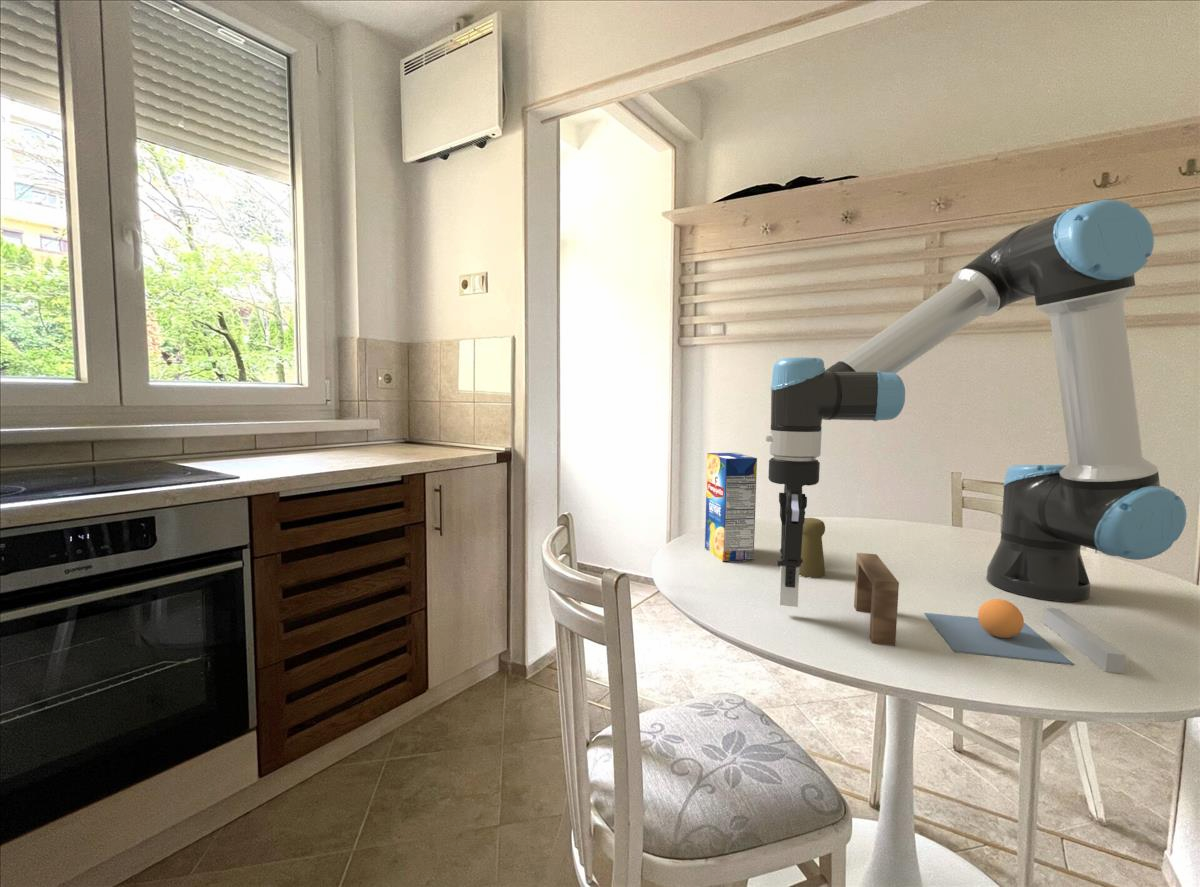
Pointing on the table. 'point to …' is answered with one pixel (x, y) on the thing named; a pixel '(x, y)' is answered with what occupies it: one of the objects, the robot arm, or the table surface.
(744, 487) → the beverage box
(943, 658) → the table surface
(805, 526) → the cork
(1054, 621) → the wall
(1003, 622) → the ball
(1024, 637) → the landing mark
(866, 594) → the bridge
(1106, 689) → the table surface
